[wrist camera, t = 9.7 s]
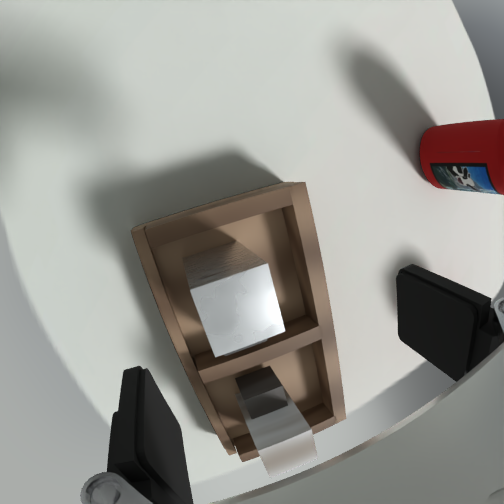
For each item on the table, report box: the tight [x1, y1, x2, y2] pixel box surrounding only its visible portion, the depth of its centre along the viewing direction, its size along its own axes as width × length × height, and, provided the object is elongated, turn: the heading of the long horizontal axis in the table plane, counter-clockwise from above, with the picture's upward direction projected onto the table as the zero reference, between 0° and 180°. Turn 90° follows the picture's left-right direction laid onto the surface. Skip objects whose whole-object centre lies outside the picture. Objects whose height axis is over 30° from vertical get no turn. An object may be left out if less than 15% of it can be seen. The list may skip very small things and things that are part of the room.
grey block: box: [182, 240, 285, 357], centre depth 19 cm, size 6×4×7 cm, turn 15°
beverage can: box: [420, 119, 504, 195], centre depth 22 cm, size 7×7×12 cm
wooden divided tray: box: [131, 182, 346, 478], centre depth 22 cm, size 22×12×9 cm, turn 15°
